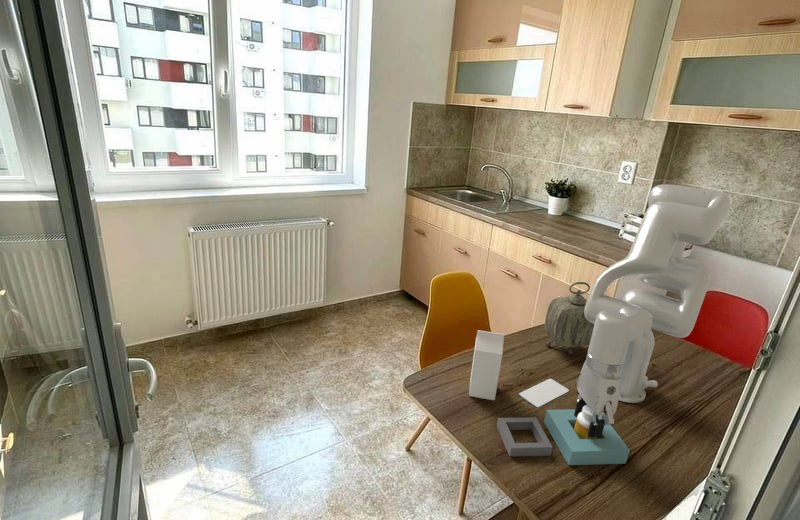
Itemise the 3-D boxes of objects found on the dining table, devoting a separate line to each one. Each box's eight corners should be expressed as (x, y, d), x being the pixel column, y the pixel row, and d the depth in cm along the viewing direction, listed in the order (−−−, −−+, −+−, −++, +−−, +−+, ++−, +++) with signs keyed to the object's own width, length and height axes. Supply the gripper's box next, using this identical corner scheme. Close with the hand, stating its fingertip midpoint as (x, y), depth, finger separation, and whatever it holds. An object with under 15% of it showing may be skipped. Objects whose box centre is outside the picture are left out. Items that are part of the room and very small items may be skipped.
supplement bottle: (585, 453, 104) (594, 421, 100) (566, 438, 108) (575, 407, 104) (599, 445, 107) (608, 413, 103) (580, 431, 111) (588, 400, 107)
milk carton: (494, 401, 120) (504, 341, 113) (468, 396, 121) (477, 336, 114) (494, 385, 126) (504, 328, 120) (470, 381, 127) (478, 324, 121)
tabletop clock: (579, 342, 152) (594, 277, 143) (593, 357, 144) (610, 288, 135) (540, 343, 150) (553, 276, 141) (552, 358, 142) (567, 288, 133)
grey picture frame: (534, 425, 112) (536, 417, 111) (550, 455, 102) (552, 447, 101) (496, 425, 111) (498, 417, 110) (509, 456, 101) (511, 448, 100)
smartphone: (517, 393, 123) (550, 377, 131) (516, 395, 123) (550, 379, 131) (537, 408, 118) (570, 390, 126) (536, 409, 118) (570, 391, 126)
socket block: (595, 421, 114) (598, 409, 113) (625, 463, 101) (630, 450, 100) (544, 422, 113) (546, 409, 111) (568, 465, 100) (572, 451, 98)
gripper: (642, 386, 91) (621, 453, 98) (599, 342, 108) (584, 402, 114) (608, 386, 91) (590, 453, 97) (570, 342, 107) (557, 402, 113)
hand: (587, 425), depth 105 cm, fingers open, 6 cm apart
